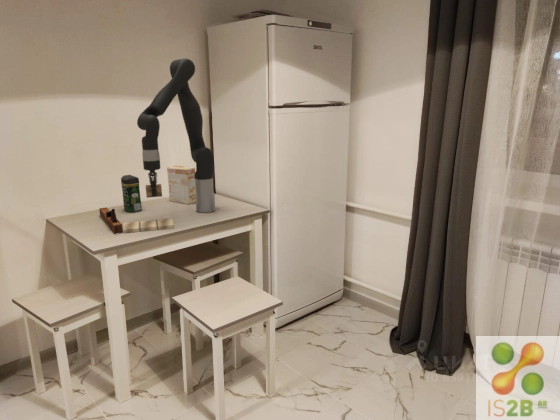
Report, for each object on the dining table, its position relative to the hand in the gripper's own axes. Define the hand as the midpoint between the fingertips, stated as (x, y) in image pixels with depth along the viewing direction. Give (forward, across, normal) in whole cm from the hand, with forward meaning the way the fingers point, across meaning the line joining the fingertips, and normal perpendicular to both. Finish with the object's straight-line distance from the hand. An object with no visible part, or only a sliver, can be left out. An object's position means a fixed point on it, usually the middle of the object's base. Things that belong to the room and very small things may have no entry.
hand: (154, 194), depth 207 cm
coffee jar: (+14, +25, +12) cm, 31 cm away
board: (+13, -7, +4) cm, 16 cm away
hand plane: (+14, +4, +21) cm, 25 cm away
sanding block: (+1, 0, 0) cm, 1 cm away
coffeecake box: (+14, +36, -15) cm, 41 cm away
